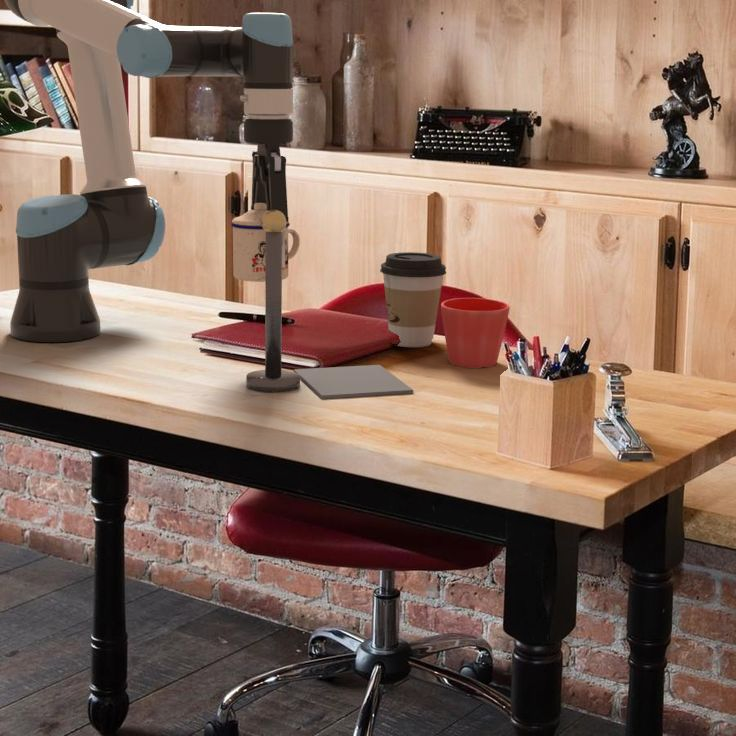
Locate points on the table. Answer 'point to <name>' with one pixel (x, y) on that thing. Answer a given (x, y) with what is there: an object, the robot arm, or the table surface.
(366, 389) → the mat
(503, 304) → the flower pot
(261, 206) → the teacup with lid
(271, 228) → the post
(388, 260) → the coffee cup
